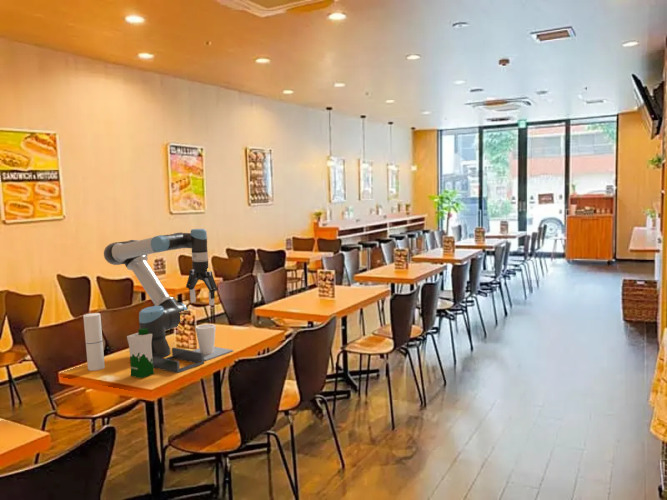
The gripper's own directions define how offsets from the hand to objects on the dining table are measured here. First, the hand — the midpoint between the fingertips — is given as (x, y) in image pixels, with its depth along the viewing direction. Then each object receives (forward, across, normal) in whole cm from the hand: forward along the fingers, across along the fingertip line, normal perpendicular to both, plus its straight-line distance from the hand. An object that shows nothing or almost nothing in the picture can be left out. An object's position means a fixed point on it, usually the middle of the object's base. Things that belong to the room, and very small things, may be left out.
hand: (202, 303), depth 280 cm
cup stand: (+24, +4, -21) cm, 32 cm away
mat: (+24, +3, -1) cm, 24 cm away
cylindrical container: (+25, -25, -43) cm, 56 cm away
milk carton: (+24, +3, -38) cm, 45 cm away
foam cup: (+24, +3, -1) cm, 24 cm away
